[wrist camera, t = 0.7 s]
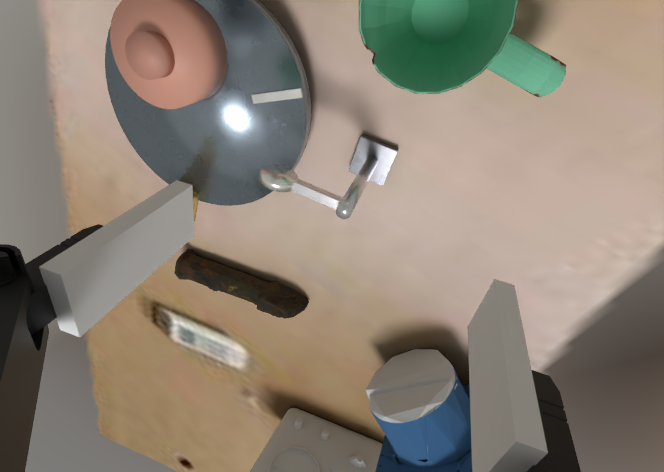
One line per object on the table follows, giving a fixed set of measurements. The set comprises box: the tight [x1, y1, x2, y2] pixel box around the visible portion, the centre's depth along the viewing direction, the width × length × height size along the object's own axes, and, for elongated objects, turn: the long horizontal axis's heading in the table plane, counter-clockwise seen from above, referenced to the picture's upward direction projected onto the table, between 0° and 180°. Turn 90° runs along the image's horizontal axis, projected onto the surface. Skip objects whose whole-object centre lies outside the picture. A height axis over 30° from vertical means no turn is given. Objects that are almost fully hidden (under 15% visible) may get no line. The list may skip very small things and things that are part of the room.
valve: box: [366, 349, 472, 472], centre depth 48 cm, size 13×15×15 cm
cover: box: [110, 0, 227, 109], centre depth 33 cm, size 9×9×6 cm
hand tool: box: [175, 249, 309, 318], centre depth 52 cm, size 19×4×5 cm, turn 75°
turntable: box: [105, 0, 311, 221], centre depth 37 cm, size 24×22×7 cm
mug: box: [359, 0, 566, 97], centre depth 28 cm, size 15×10×10 cm
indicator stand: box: [259, 135, 398, 219], centre depth 35 cm, size 10×4×14 cm, turn 72°
